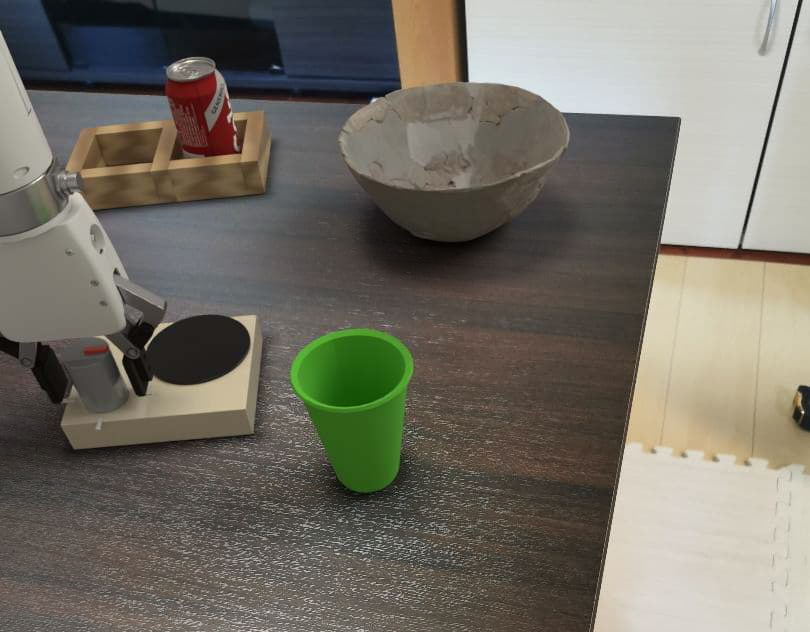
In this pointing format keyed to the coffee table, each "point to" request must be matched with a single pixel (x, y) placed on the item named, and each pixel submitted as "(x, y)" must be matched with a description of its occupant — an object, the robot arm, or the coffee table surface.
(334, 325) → the coffee table surface
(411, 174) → the ceramic bowl
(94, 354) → the knob
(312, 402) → the cup
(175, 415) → the hob
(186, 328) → the burner
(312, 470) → the coffee table surface
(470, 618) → the coffee table surface
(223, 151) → the soda can
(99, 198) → the box
